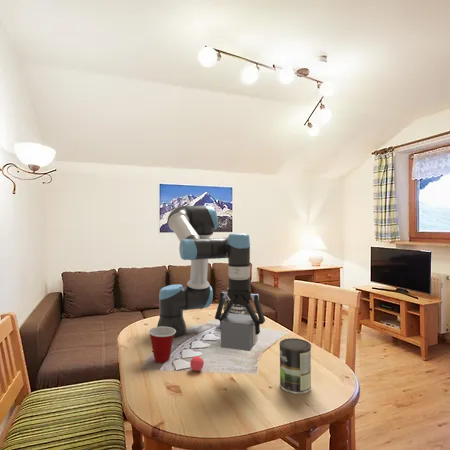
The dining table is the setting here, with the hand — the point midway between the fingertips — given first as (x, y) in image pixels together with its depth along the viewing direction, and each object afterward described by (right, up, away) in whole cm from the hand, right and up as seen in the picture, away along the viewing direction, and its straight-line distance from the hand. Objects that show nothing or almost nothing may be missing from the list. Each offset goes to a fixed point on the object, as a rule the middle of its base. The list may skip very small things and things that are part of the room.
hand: (239, 341), depth 110 cm
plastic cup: (-30, -14, +16) cm, 37 cm away
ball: (-16, -11, +7) cm, 20 cm away
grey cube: (0, -1, 0) cm, 1 cm away
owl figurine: (+1, -14, +58) cm, 60 cm away
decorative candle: (0, -13, +42) cm, 44 cm away
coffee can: (+18, -13, -5) cm, 23 cm away
